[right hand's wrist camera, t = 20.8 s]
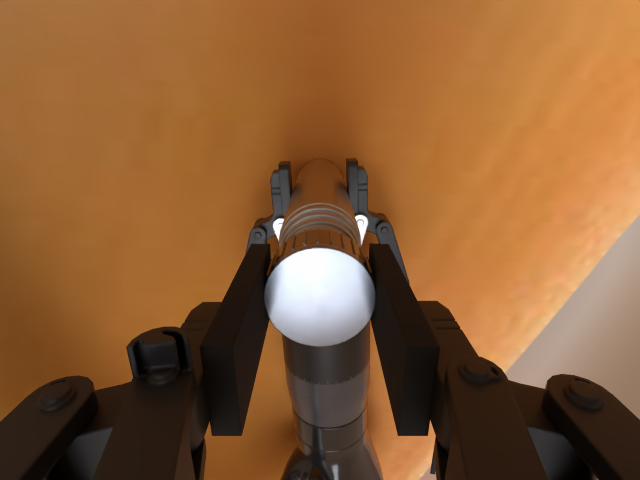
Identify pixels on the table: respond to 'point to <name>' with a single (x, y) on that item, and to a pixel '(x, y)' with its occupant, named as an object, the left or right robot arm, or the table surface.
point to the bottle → (319, 203)
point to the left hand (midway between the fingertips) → (317, 162)
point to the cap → (319, 288)
